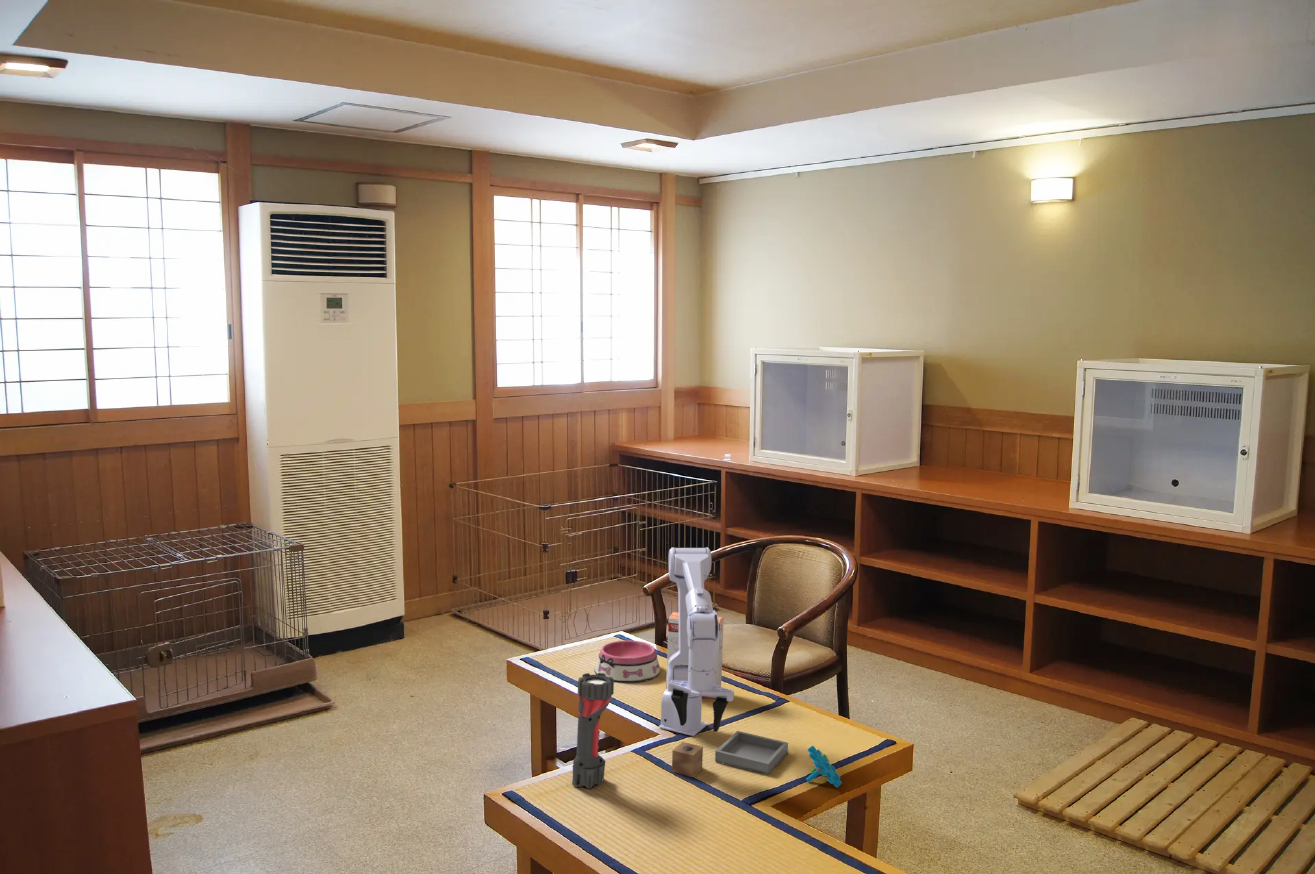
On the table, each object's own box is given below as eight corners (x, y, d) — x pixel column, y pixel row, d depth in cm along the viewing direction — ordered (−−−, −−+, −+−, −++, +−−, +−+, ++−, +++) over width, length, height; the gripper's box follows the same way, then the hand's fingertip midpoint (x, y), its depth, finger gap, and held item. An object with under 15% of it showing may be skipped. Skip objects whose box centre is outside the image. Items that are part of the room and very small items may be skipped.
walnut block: (671, 772, 211) (672, 750, 210) (681, 763, 215) (682, 741, 215) (692, 777, 209) (693, 755, 208) (702, 768, 213) (702, 746, 213)
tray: (715, 761, 216) (715, 751, 216) (737, 740, 227) (737, 730, 227) (767, 774, 210) (768, 764, 210) (787, 752, 222) (788, 742, 221)
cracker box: (665, 694, 255) (667, 617, 253) (670, 686, 261) (672, 610, 259) (717, 700, 252) (720, 622, 250) (721, 691, 258) (724, 615, 255)
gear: (843, 789, 201) (810, 751, 203) (822, 807, 202) (789, 769, 204) (845, 773, 212) (814, 737, 214) (824, 789, 213) (794, 753, 215)
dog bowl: (581, 670, 272) (581, 646, 271) (630, 656, 284) (631, 633, 284) (623, 689, 258) (624, 664, 258) (673, 673, 271) (674, 650, 270)
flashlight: (615, 775, 209) (617, 673, 206) (605, 792, 201) (607, 686, 198) (581, 770, 210) (582, 669, 208) (570, 787, 203) (571, 682, 200)
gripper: (663, 667, 209) (662, 728, 211) (727, 678, 204) (725, 739, 206) (675, 657, 216) (673, 716, 217) (737, 667, 211) (735, 727, 212)
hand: (699, 726), depth 212 cm, fingers open, 7 cm apart
